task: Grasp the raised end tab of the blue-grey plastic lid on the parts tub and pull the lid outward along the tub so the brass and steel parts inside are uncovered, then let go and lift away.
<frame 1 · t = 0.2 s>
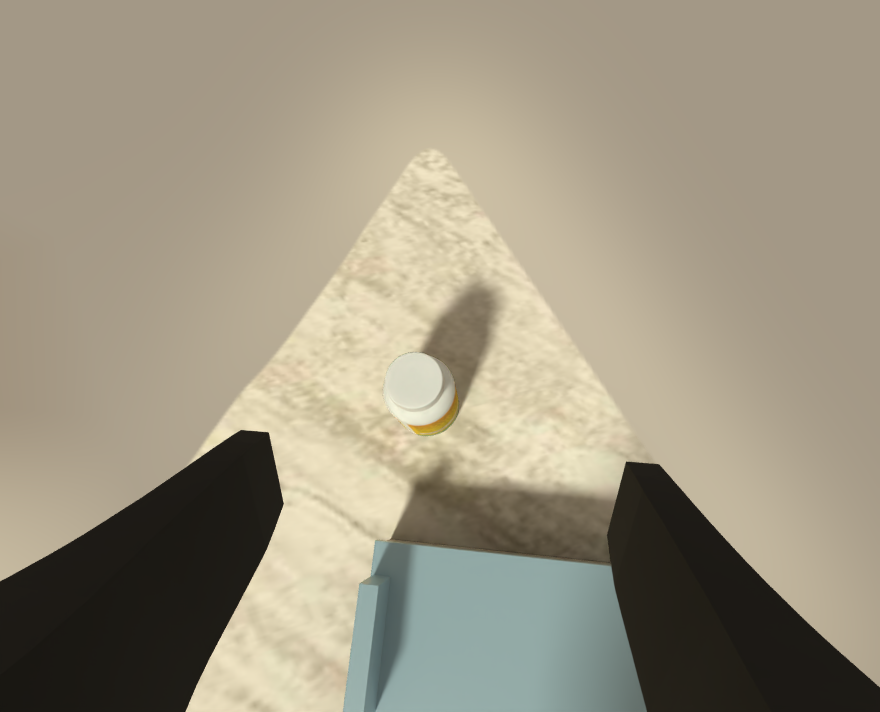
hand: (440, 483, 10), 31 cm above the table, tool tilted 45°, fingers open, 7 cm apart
supplement bottle: (429, 407, 42), on the table
lid: (517, 666, 30), point 6 cm above the table, slide at 0.0 cm
tub: (512, 638, 36), on the table
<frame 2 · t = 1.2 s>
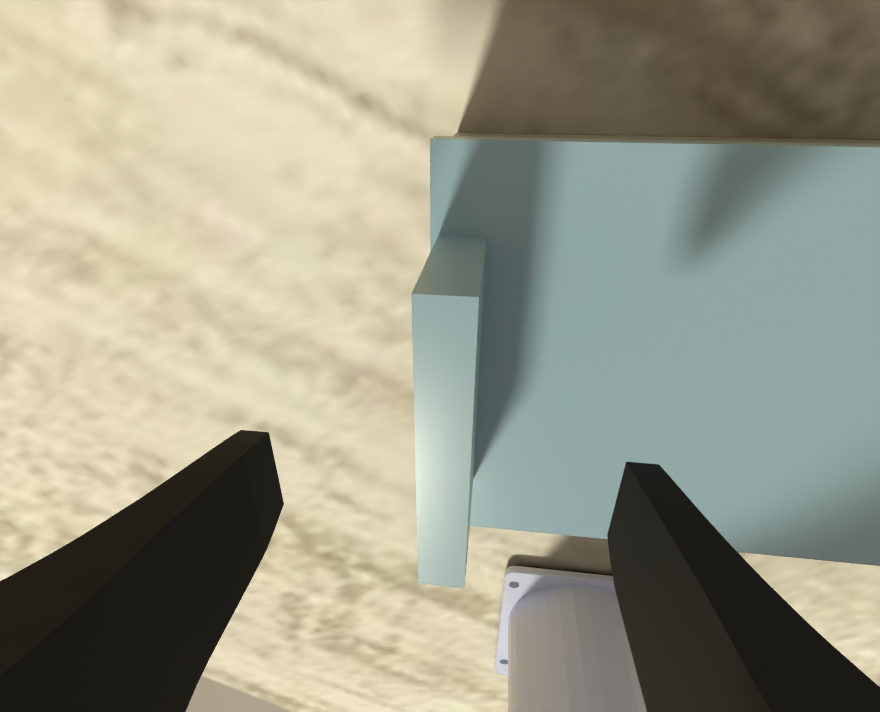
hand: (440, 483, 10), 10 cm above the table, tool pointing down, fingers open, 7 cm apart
lid: (840, 433, 12), point 7 cm above the table, slide at 0.0 cm
tub: (730, 321, 17), on the table
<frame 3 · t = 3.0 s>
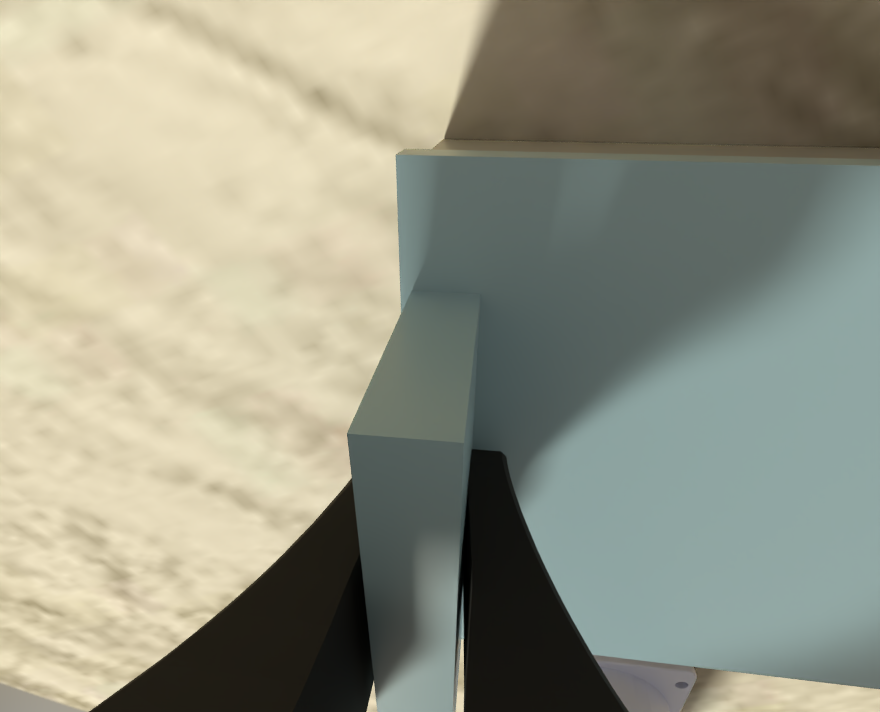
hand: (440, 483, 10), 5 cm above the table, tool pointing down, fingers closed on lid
tub: (790, 376, 14), on the table
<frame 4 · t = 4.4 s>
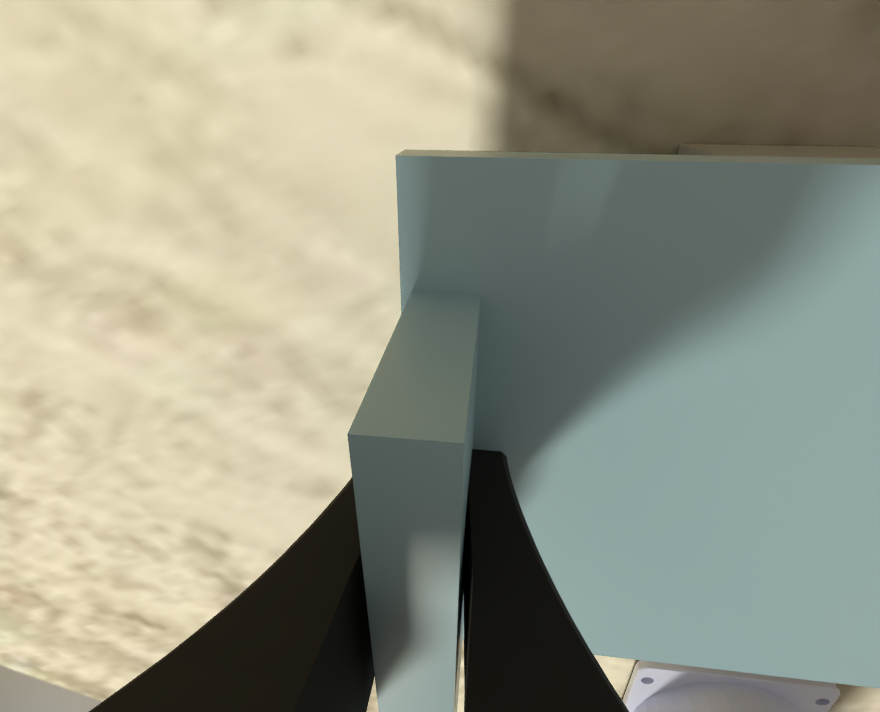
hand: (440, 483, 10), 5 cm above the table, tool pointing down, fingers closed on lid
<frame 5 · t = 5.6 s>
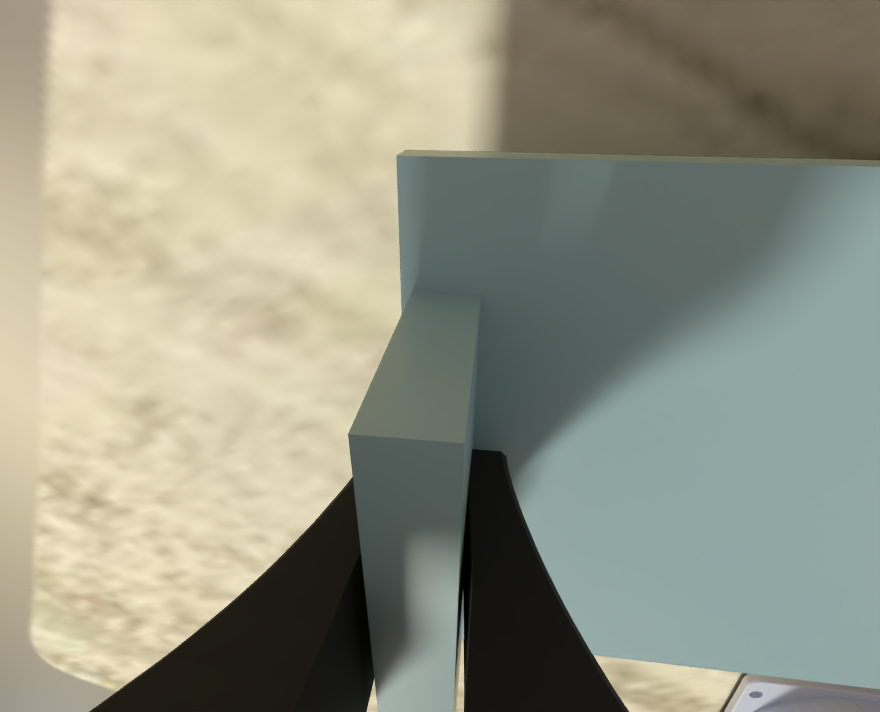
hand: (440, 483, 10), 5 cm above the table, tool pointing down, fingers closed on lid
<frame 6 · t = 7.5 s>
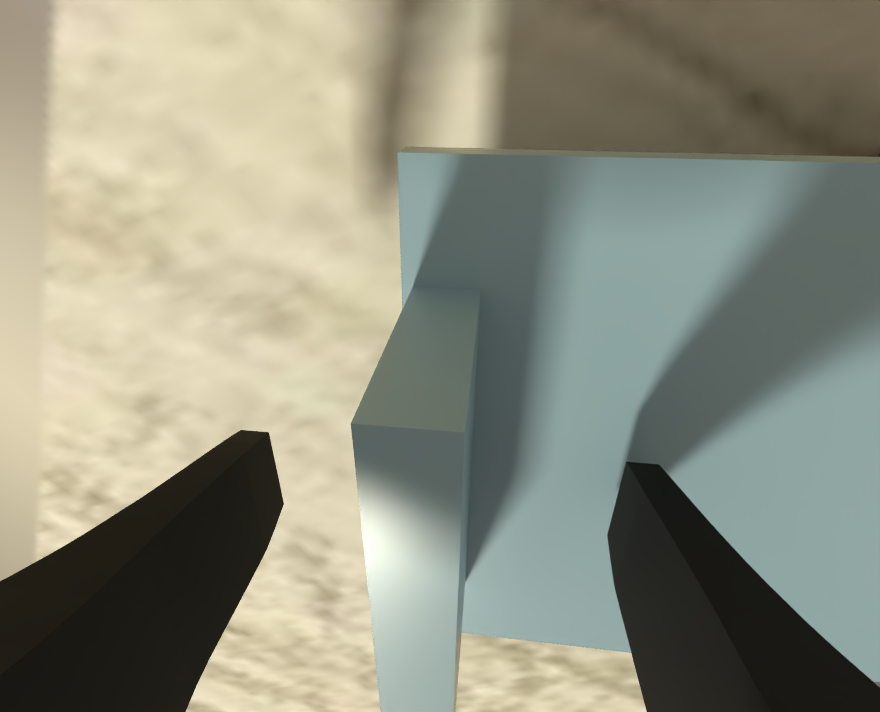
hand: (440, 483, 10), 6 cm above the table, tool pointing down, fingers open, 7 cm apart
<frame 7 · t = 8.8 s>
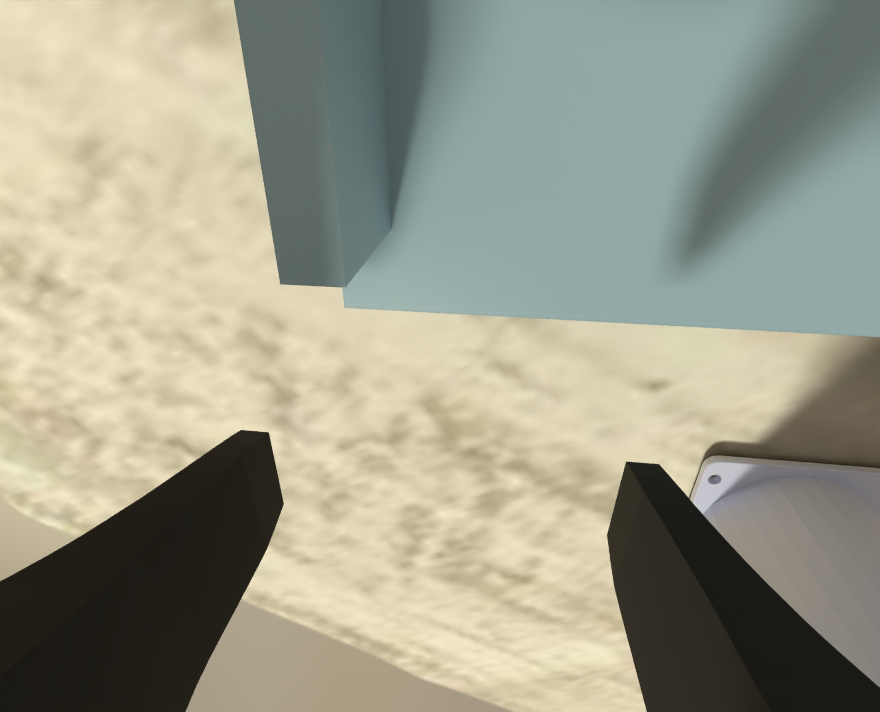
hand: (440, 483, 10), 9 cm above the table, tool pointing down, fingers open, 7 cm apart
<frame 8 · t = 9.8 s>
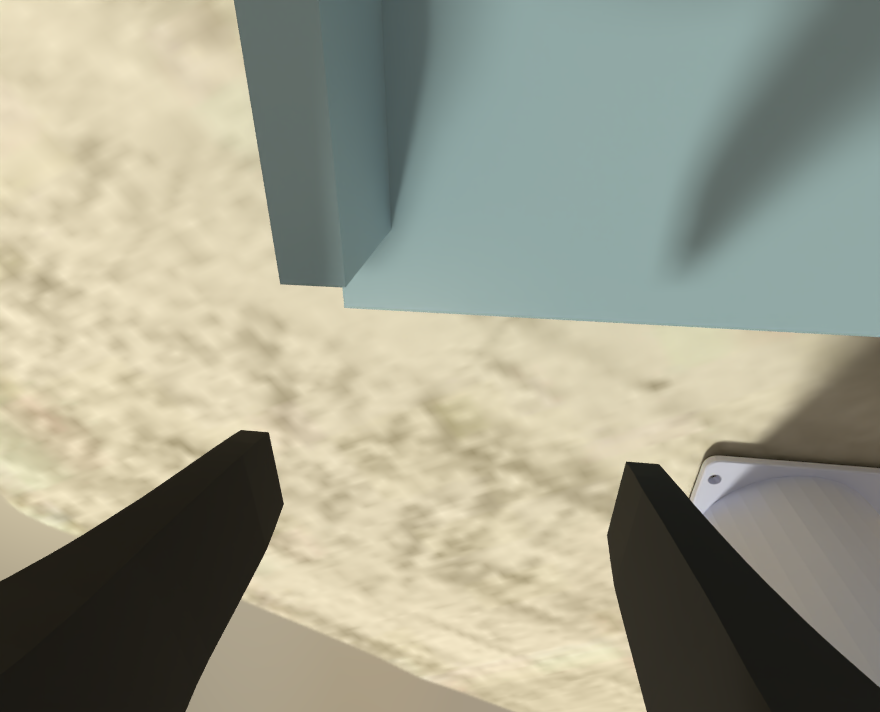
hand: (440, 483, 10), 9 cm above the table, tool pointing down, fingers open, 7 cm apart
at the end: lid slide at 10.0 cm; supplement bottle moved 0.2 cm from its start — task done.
